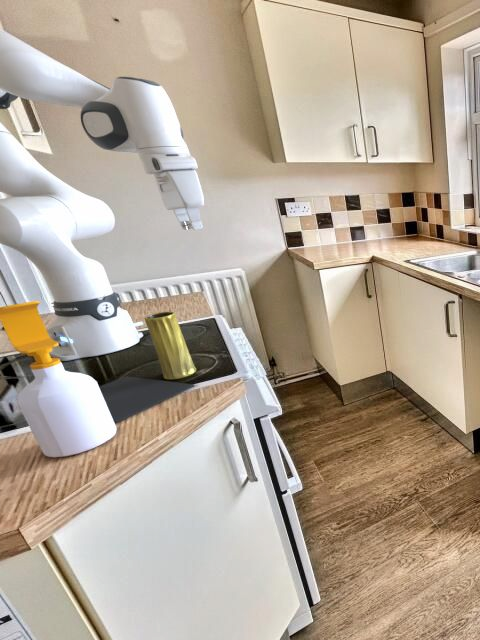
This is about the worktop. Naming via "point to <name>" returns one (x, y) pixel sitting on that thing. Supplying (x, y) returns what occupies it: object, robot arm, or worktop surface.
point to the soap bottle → (55, 390)
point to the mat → (137, 395)
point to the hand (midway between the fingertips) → (192, 229)
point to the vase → (170, 345)
